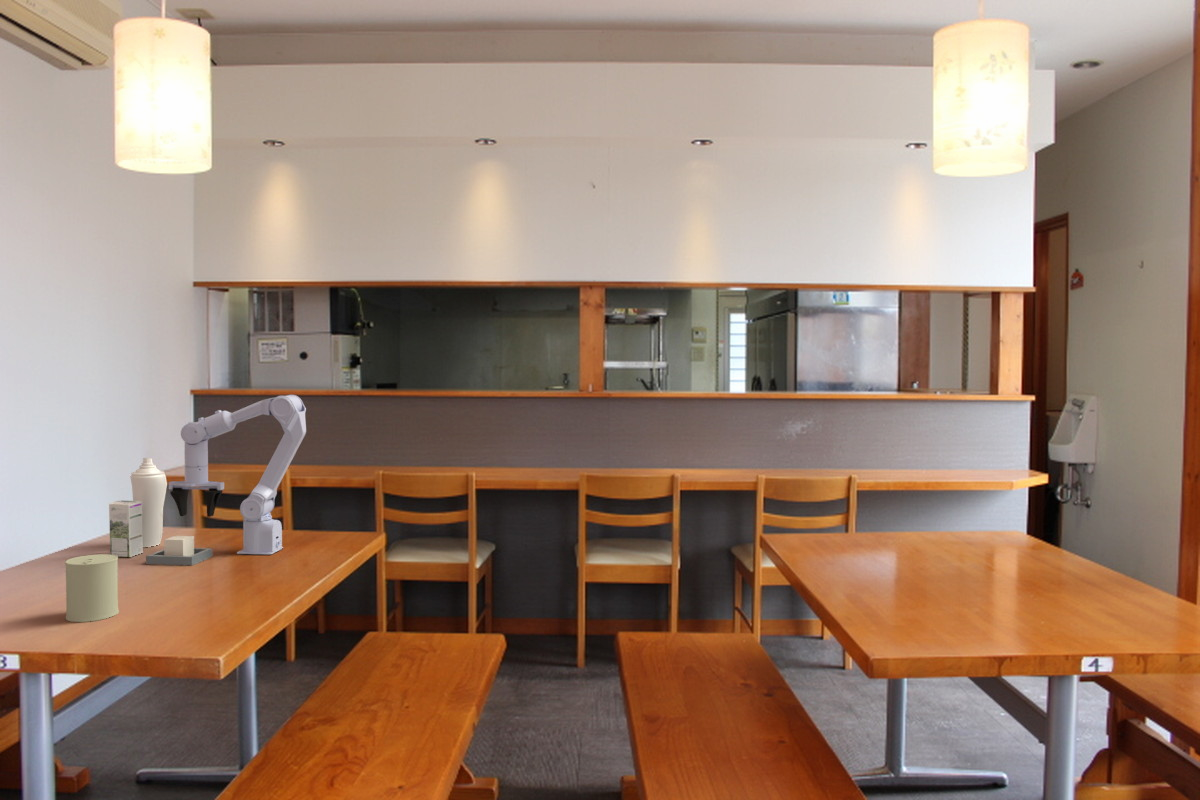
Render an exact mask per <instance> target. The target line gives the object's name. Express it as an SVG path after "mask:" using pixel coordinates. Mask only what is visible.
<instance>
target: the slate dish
mask: <svg viewBox="0 0 1200 800" xmlns="http://www.w3.org/2000/svg"><path fill="white" fill-rule="evenodd" d="M210 557H211V558H213V548H212V547H211V548H210V547H207V548H205V547H204V548H203V547H197V548H196V547H194V555H191V556H167V555H164V548H163V549H161V550H158V551H155V552H152V553H150V554H148V555H145V565H146V564H163V565H164V566H187V565H191V566H194V565H196V564H199V563H201V562H204V561H206V560H208V559H211V558H210ZM203 560H204V561H203ZM163 565H162V566H163Z"/></svg>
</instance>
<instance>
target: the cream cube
mask: <svg viewBox="0 0 1200 800" xmlns="http://www.w3.org/2000/svg"><path fill="white" fill-rule="evenodd" d="M163 542H164V545H163V546H164V547H163V549H164V555H167V556H191V555H194V548H195V536H194V535H173V536H170V537H168V538H165V539H164V540H163Z"/></svg>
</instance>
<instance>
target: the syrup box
mask: <svg viewBox="0 0 1200 800" xmlns="http://www.w3.org/2000/svg"><path fill="white" fill-rule="evenodd" d="M108 506H109V507H108V508H109V509H108V511H109V512H108V513H109V517H108V518H109V554H110V555H116V556H118V558H120V557H131V558H133V557H132V556H134V557H136V556H135V555H137V556H139V555H138V554H140V555H142V554H141V553H143V554H144V551H143V550H144V548H143V542H142V501H133V500H125V499H124V500H116V501H113V502H109V503H108Z"/></svg>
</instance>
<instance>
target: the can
mask: <svg viewBox="0 0 1200 800" xmlns="http://www.w3.org/2000/svg"><path fill="white" fill-rule="evenodd" d="M118 561H119V557H118V556H116V555H110V553H109V554H107V553H101V554H89V555H81V556H75V557H71V558H68V559H67V560H66V561H65V562H64V564H65V585H66V586H65V590H66V591H65V592H66V593H65V594H66V595H65V596H66V598H65V599H66V600H65V601H66V603H65V605H66V613H65V614H66V615H65V621H67V622H71V623H89V622H90V621H91V622H97V621H98V622H99V621H102V619H103V620H106V618H107V619H110V618H113V617H115V616H117V615H118V614H119V613H120V610H119V593H118V592H119V591H118V590H119V589H118V588H119V587H118V582H119V581H118V577H119V575H118V571H119V569H118ZM116 614H117V615H116ZM114 615H115V616H114ZM112 616H113V617H112ZM109 617H110V618H109Z"/></svg>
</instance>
